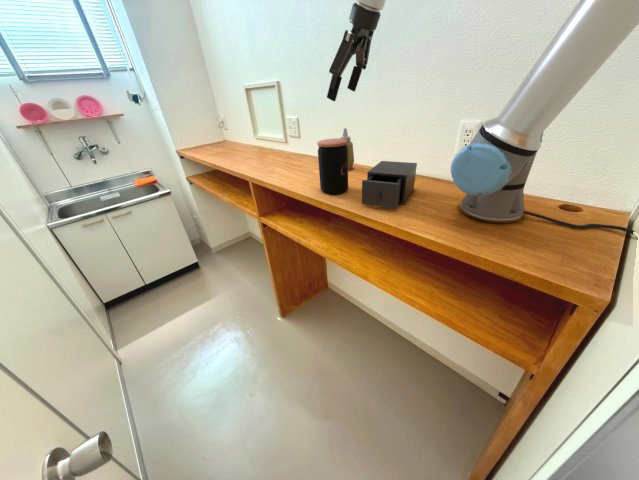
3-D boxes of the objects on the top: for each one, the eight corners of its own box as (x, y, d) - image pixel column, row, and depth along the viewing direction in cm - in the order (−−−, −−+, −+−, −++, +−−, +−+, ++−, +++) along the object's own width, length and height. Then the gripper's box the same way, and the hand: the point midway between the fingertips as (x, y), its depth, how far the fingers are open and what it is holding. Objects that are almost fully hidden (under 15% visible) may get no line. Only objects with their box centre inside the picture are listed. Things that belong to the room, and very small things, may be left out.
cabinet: (403, 204, 82) (406, 175, 77) (366, 199, 87) (367, 172, 82) (413, 189, 92) (417, 163, 87) (380, 185, 98) (381, 160, 93)
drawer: (395, 210, 76) (398, 185, 72) (360, 205, 81) (360, 181, 77) (407, 193, 87) (410, 171, 83) (375, 190, 92) (376, 168, 88)
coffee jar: (346, 195, 92) (345, 143, 82) (318, 195, 94) (314, 144, 84) (349, 185, 100) (349, 137, 91) (323, 185, 103) (320, 138, 93)
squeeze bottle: (357, 167, 122) (357, 127, 113) (349, 172, 116) (349, 130, 107) (342, 166, 126) (341, 126, 117) (334, 170, 120) (332, 129, 111)
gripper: (374, 1, 72) (349, 81, 88) (331, 0, 56) (310, 97, 73) (397, 11, 71) (367, 91, 87) (359, 13, 55) (331, 109, 71)
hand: (341, 94), depth 80 cm, fingers open, 13 cm apart
